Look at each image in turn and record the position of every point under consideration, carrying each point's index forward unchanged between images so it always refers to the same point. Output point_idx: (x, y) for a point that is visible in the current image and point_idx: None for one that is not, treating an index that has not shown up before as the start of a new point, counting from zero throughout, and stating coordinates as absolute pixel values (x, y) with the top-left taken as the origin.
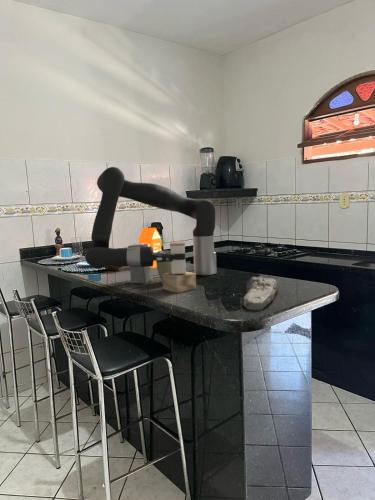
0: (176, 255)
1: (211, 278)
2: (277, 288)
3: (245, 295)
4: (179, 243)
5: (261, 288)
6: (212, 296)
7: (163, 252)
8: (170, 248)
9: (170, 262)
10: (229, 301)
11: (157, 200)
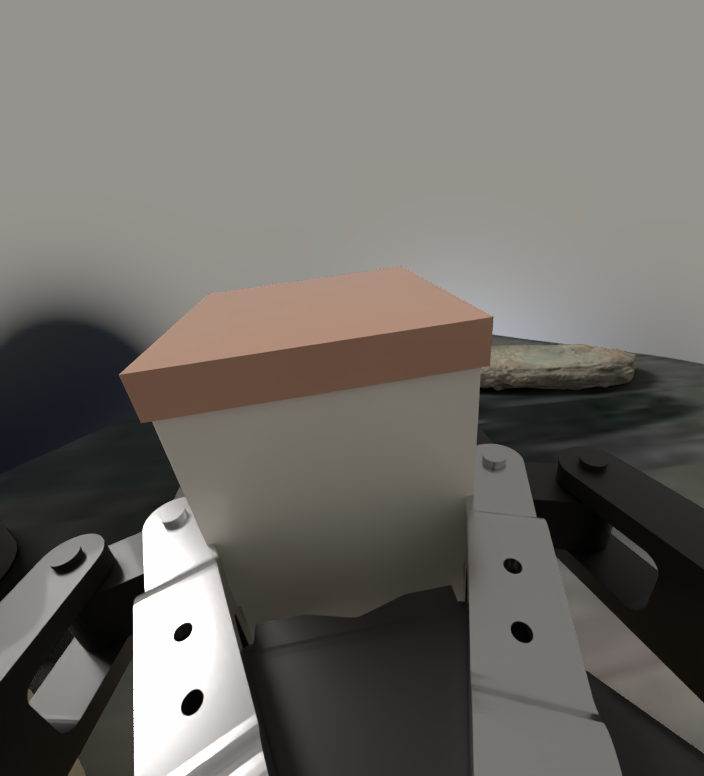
0: (489, 442)
1: (119, 532)
2: None
3: (550, 374)
4: (407, 279)
5: None
6: None
7: (552, 617)
8: (477, 410)
9: None
10: (569, 421)
11: None
